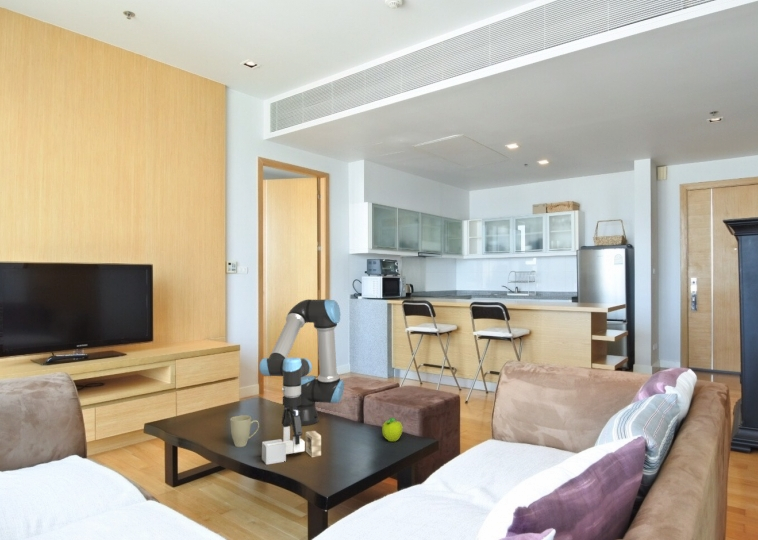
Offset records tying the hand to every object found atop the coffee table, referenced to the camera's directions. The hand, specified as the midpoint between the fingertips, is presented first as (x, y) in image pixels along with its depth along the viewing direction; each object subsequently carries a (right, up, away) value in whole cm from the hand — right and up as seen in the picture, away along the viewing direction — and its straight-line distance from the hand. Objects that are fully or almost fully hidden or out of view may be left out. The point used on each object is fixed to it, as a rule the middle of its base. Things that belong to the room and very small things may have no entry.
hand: (291, 447), depth 202 cm
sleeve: (-7, -4, -3) cm, 8 cm away
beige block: (+8, -4, +5) cm, 11 cm away
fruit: (+43, -5, +21) cm, 48 cm away
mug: (-24, -5, +16) cm, 29 cm away
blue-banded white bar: (-2, -2, -1) cm, 3 cm away
